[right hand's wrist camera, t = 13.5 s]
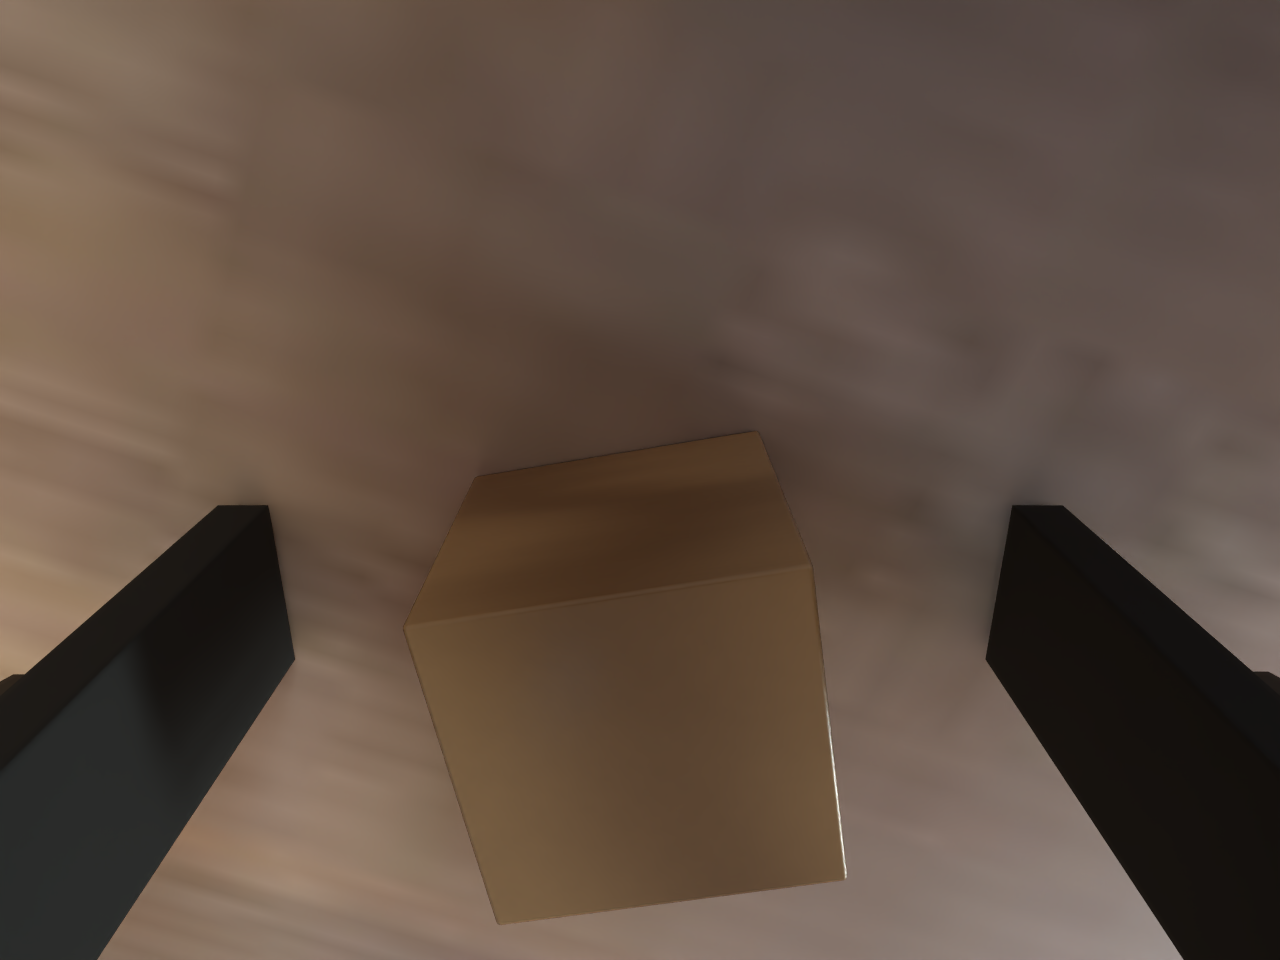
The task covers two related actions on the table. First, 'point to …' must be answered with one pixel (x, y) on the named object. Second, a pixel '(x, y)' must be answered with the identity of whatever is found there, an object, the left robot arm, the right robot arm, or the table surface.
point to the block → (632, 682)
